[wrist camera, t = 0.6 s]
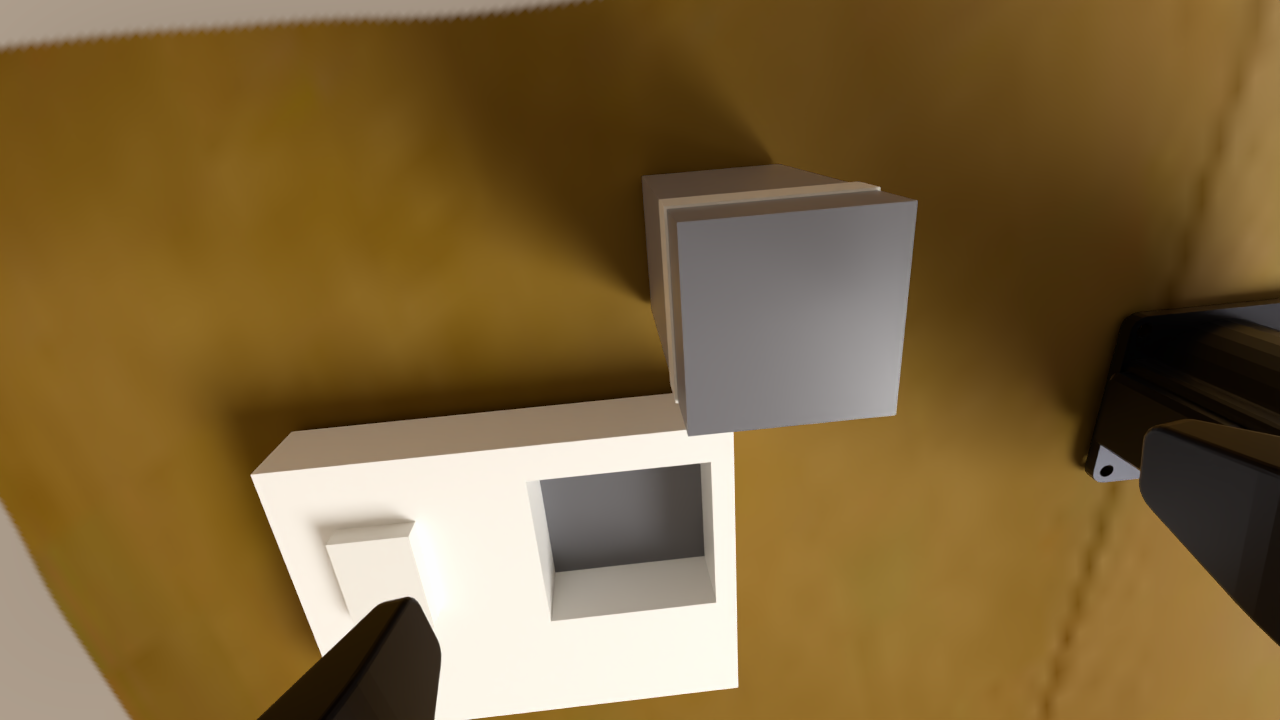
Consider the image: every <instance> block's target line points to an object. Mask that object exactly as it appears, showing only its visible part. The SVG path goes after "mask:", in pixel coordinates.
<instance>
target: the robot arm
mask: <svg viewBox="0 0 1280 720" xmlns="http://www.w3.org/2000/svg"><path fill="white" fill-rule="evenodd" d="M1140 326H1142V327H1141V329H1140V330H1139V331H1138V329H1139V327H1140ZM1137 331H1138V332H1137ZM1085 471H1086V473H1087V474H1088V475H1089V476H1090V477H1092V478H1093V479H1095V480H1096V481H1098V482H1111V481H1121V480H1130V479H1139V487H1140V492H1141V494H1142V497H1143V499H1144V500H1145V502H1146V504H1147V505H1148V506H1149V507H1150V509H1151V510H1152V511H1153V512H1154V513H1155V514H1156V515H1157V516H1158V517H1159V518H1160V520H1161V521H1162V522H1163V523H1164V524H1165V525H1166V526H1167V527H1168V528H1169V530H1170V531H1171V532H1172V533H1173V534H1174V535H1175V536H1176V537H1177V538H1178V539H1179V541H1180V542H1181V543H1182V544H1183V545H1184V546H1185V547H1186V548H1187V549H1188V551H1189V552H1190V553H1191V554H1192V555H1193V556H1194V557H1195V558H1196V559H1197V560H1198V562H1199V563H1200V564H1201V565H1202V566H1203V567H1204V568H1205V569H1206V570H1207V572H1208V573H1209V574H1210V575H1211V576H1212V577H1213V578H1214V579H1215V580H1216V581H1217V583H1218V584H1219V585H1220V586H1221V587H1222V588H1223V589H1224V590H1225V591H1226V593H1227V594H1228V595H1229V596H1230V597H1231V598H1232V599H1233V600H1234V601H1235V602H1236V603H1237V604H1238V605H1239V607H1240V608H1241V609H1242V610H1243V611H1244V612H1245V613H1246V614H1247V615H1248V616H1249V617H1250V618H1251V619H1252V620H1253V621H1254V622H1255V623H1256V624H1257V625H1258V626H1259V627H1260V628H1261V629H1262V630H1263V631H1264V632H1265V633H1266V634H1267V635H1268V636H1269V637H1270V638H1271V639H1272V640H1273V641H1274V642H1275V643H1276V644H1278V645H1279V646H1280V298H1279V299H1269V300H1259V301H1249V302H1239V303H1228V304H1218V305H1208V306H1198V307H1188V308H1178V309H1168V310H1158V311H1148V312H1138V313H1134V314H1132V315H1130V316H1129V317H1127V318H1126V319H1125V320H1124V322H1123V323H1122V325H1121V328H1120V331H1119V335H1118V339H1117V343H1116V347H1115V351H1114V355H1113V359H1112V363H1111V367H1110V371H1109V375H1108V378H1107V382H1106V386H1105V390H1104V394H1103V398H1102V402H1101V406H1100V410H1099V414H1098V418H1097V422H1096V426H1095V430H1094V434H1093V438H1092V442H1091V446H1090V449H1089V453H1088V457H1087V461H1086V465H1085ZM440 670H441V648H440V644H439V641H438V639H437V637H436V635H435V633H434V631H433V629H432V627H431V625H430V623H429V621H428V620H427V618H426V616H425V614H424V612H423V610H422V608H421V606H420V604H419V603H418V601H417V600H416V599H415V598H413V597H402V598H398V599H394V600H389V601H385V602H382V603H380V604H378V605H377V606H376V607H374V608H373V609H372V610H371V611H370V612H369V613H368V614H367V615H366V616H365V617H364V618H363V619H362V620H361V621H360V622H359V623H358V624H357V625H356V626H354V627H353V628H352V629H351V630H350V631H349V632H348V633H347V634H346V635H345V636H344V637H343V638H342V639H341V640H340V641H339V642H338V643H337V644H336V645H335V646H334V647H332V648H331V649H330V650H329V651H328V652H327V653H326V654H325V655H324V656H323V657H322V658H321V659H320V660H319V661H318V662H317V663H316V664H315V665H314V666H313V667H312V668H310V669H309V670H308V671H307V672H306V673H305V674H304V675H303V676H302V677H301V678H300V679H299V680H298V681H297V682H296V683H295V684H294V685H293V686H292V687H291V688H290V689H288V690H287V691H286V692H285V693H284V694H283V695H282V696H281V697H280V698H279V699H278V700H277V701H276V702H275V703H274V704H273V705H272V706H271V707H270V708H269V709H268V710H266V711H265V712H264V713H263V714H262V715H261V716H260V717H259V718H258V719H257V720H435V711H436V703H437V695H438V686H439V678H440Z"/></svg>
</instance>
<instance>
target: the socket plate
mask: <svg viewBox="0 0 1280 720" xmlns="http://www.w3.org/2000/svg"><path fill="white" fill-rule="evenodd" d="M251 478H252V480H253V483H254V485H255V488H256V490H257V493H258V495H259V498H260V500H261V503H262V505H263V508H264V511H265V513H266V516H267V518H268V521H269V523H270V526H271V528H272V531H273V533H274V536H275V538H276V541H277V543H278V546H279V548H280V551H281V554H282V556H283V559H284V561H285V564H286V566H287V569H288V571H289V574H290V576H291V579H292V581H293V584H294V586H295V589H296V591H297V594H298V596H299V599H300V602H301V604H302V607H303V609H304V612H305V614H306V617H307V619H308V622H309V624H310V627H311V629H312V632H313V634H314V637H315V639H316V642H317V645H318V647H319V650H320V652H321V655H322V657H323V656H324V655H325V654H326V653H327V652H328V651H329V650H330V649H331V648H332V647H334V646H335V645H336V644H337V643H338V642H339V641H340V640H341V639H342V638H343V637H344V636H345V635H346V634H347V633H348V632H349V631H350V630H351V629H352V628H353V627H354V626H356V625H357V624H358V623H359V622H360V621H361V620H362V619H363V618H364V617H365V616H366V615H367V614H368V613H369V612H370V611H371V610H372V609H373V608H374V607H376V606H377V605H378V604H380V603H382V602H385V601H389V600H394V599H398V598H402V597H413V598H415V599H416V600H417V601H418V603H419V604H420V606H421V608H422V610H423V612H424V614H425V616H426V618H427V620H428V621H429V623H430V625H431V627H432V629H433V631H434V633H435V635H436V637H437V639H438V641H439V644H440V648H441V670H440V678H439V686H438V695H437V703H436V711H435V720H468V719H476V718H484V717H493V716H501V715H510V714H518V713H526V712H535V711H543V710H552V709H560V708H569V707H577V706H585V705H594V704H602V703H611V702H619V701H627V700H636V699H644V698H653V697H661V696H670V695H678V694H686V693H695V692H703V691H712V690H720V689H729V688H737V687H738V654H737V599H736V545H735V491H734V436H733V432H727V433H717V434H708V435H698V436H688V434H687V431H686V427H685V424H684V421H683V417H682V414H681V410H680V407H679V403H675V399H674V396H673V393H670V394H660V395H650V396H640V397H630V398H620V399H610V400H600V401H591V402H581V403H571V404H561V405H551V406H541V407H531V408H521V409H511V410H501V411H492V412H482V413H472V414H462V415H452V416H442V417H432V418H422V419H412V420H402V421H393V422H383V423H373V424H363V425H353V426H343V427H333V428H323V429H313V430H303V431H294V432H291V433H290V434H289V435H288V436H287V437H286V438H285V439H284V440H283V441H282V442H281V443H280V444H279V446H278V447H277V448H276V449H275V450H274V451H273V452H272V453H271V454H270V455H269V456H268V457H267V458H266V459H265V460H264V461H263V462H262V463H261V464H260V465H259V466H258V467H257V468H256V469H255V470H254V472H253V473H252V474H251Z"/></svg>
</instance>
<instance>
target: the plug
mask: <svg viewBox="0 0 1280 720" xmlns="http://www.w3.org/2000/svg"><path fill="white" fill-rule="evenodd" d="M880 188H881V187H879V186H875V185H871V184H867V183H863V182H846V181H842V180H838V179H834V178H830V177H827V176H823V175H819V174H815V173H811V172H808V171H804V170H800V169H796V168H793V167H789V166H785V165H781V164H772V165H760V166H749V167H737V168H726V169H715V170H703V171H692V172H681V173H669V174H658V175H647V176H642V190H643V203H644V217H645V230H646V244H647V258H648V271H649V285H650V298H651V309H652V313H653V316H654V320H655V323H656V327H657V330H658V334H659V337H660V341H661V344H662V348H663V351H664V355H665V358H666V361H667V365H668V368H669V373H670V385H671V388H672V392H673V396H674V399H675V403H679V407H680V410H681V414H682V417H683V421H684V424H685V427H686V431H687V434H688V436H698V435H708V434H717V433H727V432H737V431H746V430H756V429H766V428H775V427H785V426H795V425H804V424H814V423H824V422H833V421H843V420H853V419H862V418H872V417H882V416H891V415H896V409H897V399H898V390H899V380H900V370H901V361H902V351H903V341H904V332H905V322H906V312H907V302H908V293H909V283H910V273H911V264H912V254H913V244H914V234H915V225H916V215H917V205H918V200H914V199H910V198H906V197H903V196H899V195H895V194H891V193H887V192H884V191H880Z"/></svg>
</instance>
